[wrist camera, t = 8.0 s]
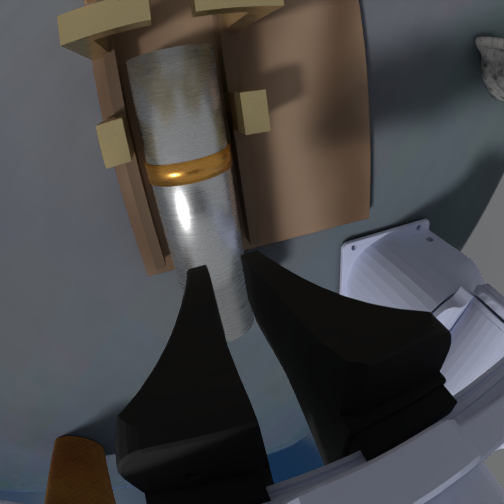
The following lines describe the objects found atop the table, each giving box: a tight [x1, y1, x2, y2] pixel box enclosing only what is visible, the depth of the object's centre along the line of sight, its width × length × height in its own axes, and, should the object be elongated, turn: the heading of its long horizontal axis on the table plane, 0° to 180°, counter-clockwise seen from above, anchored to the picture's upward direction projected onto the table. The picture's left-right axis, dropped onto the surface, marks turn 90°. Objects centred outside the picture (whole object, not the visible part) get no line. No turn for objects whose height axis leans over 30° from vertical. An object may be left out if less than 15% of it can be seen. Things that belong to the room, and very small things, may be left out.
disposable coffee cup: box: [45, 436, 116, 504], centre depth 23 cm, size 10×10×12 cm
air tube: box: [126, 43, 254, 342], centre depth 16 cm, size 16×4×4 cm, turn 7°
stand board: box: [84, 0, 370, 276], centre depth 16 cm, size 16×20×2 cm
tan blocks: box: [57, 0, 284, 169], centre depth 11 cm, size 8×11×6 cm
